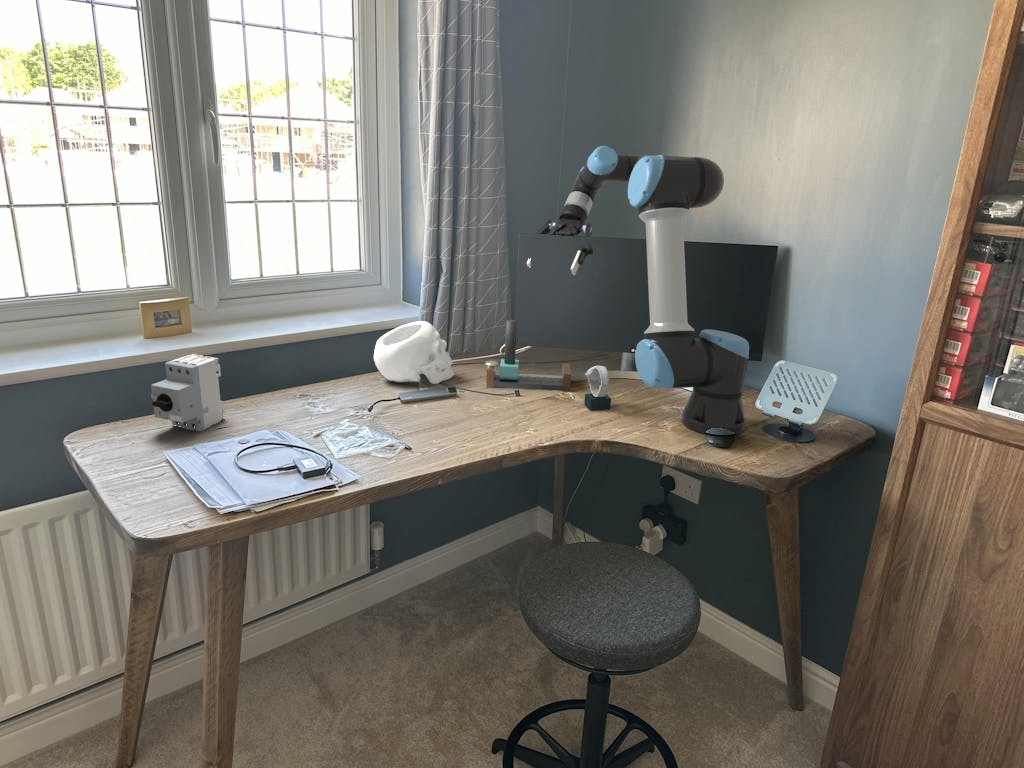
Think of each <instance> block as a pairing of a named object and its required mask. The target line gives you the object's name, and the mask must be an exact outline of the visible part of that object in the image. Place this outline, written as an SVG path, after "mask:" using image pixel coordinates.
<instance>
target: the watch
mask: <svg viewBox="0 0 1024 768" xmlns="http://www.w3.org/2000/svg"><path fill="white" fill-rule="evenodd" d="M608 371H609V370H608V369H607V367H606V366H602V365H595V366H592V367H590V368H589V369H588V370H587V371H586V372H585V376H586V377H587V380H588V381H587V382H588V384H589V388H590V391H591V393H584V401H583V403H584V404H583V405H584V406H585V407H586V409H587V410H588V411H589V412H592V411H598V412H599V411H610V410H611V405H612V397H611V396H609V395H608V392H609V388H610V385H609V384H610V375H609V372H608ZM599 383H600V385H599Z"/></svg>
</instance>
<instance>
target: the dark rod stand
mask: <svg viewBox="0 0 1024 768" xmlns="http://www.w3.org/2000/svg"><path fill="white" fill-rule="evenodd" d="M517 327H518V320H516V319H506V321H505V336H504V358H501V359H500V364H499V365H500V366H499V372H500V379H509V380H518V373H519V364H520V363H519V362H520V360H519V359H516V349H517V347H516V346H517V329H518V328H517Z"/></svg>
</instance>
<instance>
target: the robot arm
mask: <svg viewBox="0 0 1024 768" xmlns="http://www.w3.org/2000/svg"><path fill="white" fill-rule="evenodd" d="M606 182H618V183H619V182H620V183H628V186H627V198H628V201H629V204H630V206H632V207H634V208H635V209H638V218H639V219H640V220H641V221H643V223H644V224H645V235H646V236H645V237H646V238H645V239H646V240H645V241H646V242H645V244H646V262H647V265H646V266H647V282H648V283H647V284H648V286H647V287H648V307H649V323H650V324H649V325H648V327H647V328H646V329H645V331H644V332H643V338H644V339H642V340H640V341H639V342H638V343H637V344H636V347H635V349H636V350H635V352H634V360H635V367H636V370H637V373H638V376H639V378H640V379H641V380H642V383H644V384H645V385H646V386H647V387H648V388H650V389H653V390H654V389H655V390H658V389H659V390H661V389H663V390H672V389H685V388H692V391H691V394H690V396H689V398H688V400H687V402H686V404H685V405H684V408H683V409H682V413H681V423H682V424H683V425H684V427H686V428H688V429H690V430H692V431H695V432H697V433H702V434H705V433H706V431H707V430H709V429H711V428H723V429H727V430H730V431H732V432H734V433H735V434H736V435H739V434H741V433H743V432H744V431H745V427H746V415H745V410H744V406H743V397H742V396H743V390H744V385H745V379H746V374H747V373H746V372H747V367H748V360H749V359H750V357H749V354H750V343H749V342H748V340H747V339H745V338H744V337H742V336H739V335H737V334H734V333H731V332H727V331H721V330H716V329H703V330H701V331H700V332H699V337H695V336H696V334H695V328H693V327H692V326H691V325H690V324H689V322H688V307H687V305H688V304H687V303H688V302H687V284H686V283H687V280H686V279H687V278H686V261H685V260H686V259H685V257H686V256H685V255H686V254H685V237H684V233H685V232H684V230H685V229H684V219H685V218H687V216H688V215H689V214H690V209H697V208H703V207H706V206H708V205H710V204H711V203H713V202H714V201H716V199H717V198H718V197H719V196H720V194H721V193H722V191H723V189H724V183H725V177H724V173H723V170H722V168H721V167H720V165H718V164H717V163H716V162H715V161H713V160H711V159H709V158H705V157H699V156H693V157H692V156H679V155H678V156H677V155H664V154H658V155H650V154H644V155H643V154H642V155H641V154H640V155H639V154H624V153H623V154H621V153H619V154H618V153H617V152H616V151H615V149H614V148H611V147H609V146H608V145H600V146H597V147H596V148H594V150H593V151H592V153H591V154H590V156H588V158H587V161H586V162H585V165H584V166H582V167H581V168H580V170H579V172H578V174H577V175H576V179H575V181H574V184H573V186H572V189H571V191H570V193H569V194H568V197H567V199H566V200H565V203H564V205H563V207H562V210H561V212H560V214H559V218H558V219H557V221H556V222H552V220H551V219H548V220H547V221H546V222H545V224H544V225H543V226H542V227H541V228H540V229H539V230H538V231H537V232H535V234H547V235H561V236H574V237H580V235H579V234H580V233H582V232H584V234H585V238H586V237H592V233H593V228H592V225H591V223H587V224H586V225H585V223H586V222H587V219H588V215H589V214H590V211H591V210H592V207H593V204H594V202H595V200H596V198H597V195H598V193H599V191H600V190H601V188H602V187H603V186H604V184H606ZM574 237H573V238H574ZM592 243H593V242H592ZM592 243H588V244H587V245H586V246H587V248H586V246H585V244H583V245H581V246H580V248H579V250H577V252H576V255H575V257H574V259H573V261H572V264H571V267H570V271H571V274H572V275H573V276H576V274H577V272H578V269H579V268H580V265H583V264H584V262H585V260H586V258H587V256H589V255H590V254H593V249H594V247H593V248H592ZM580 249H581V250H580ZM590 256H591V255H590ZM526 265H527V268H528V267H529V268H531V258H530V259H529V258H528V259H527V261H526ZM529 268H528V269H529ZM736 435H735V436H736Z"/></svg>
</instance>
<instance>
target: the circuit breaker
mask: <svg viewBox="0 0 1024 768" xmlns="http://www.w3.org/2000/svg"><path fill="white" fill-rule="evenodd" d="M164 366H165V373H166V375H165V376H166V378H165V379H163V380H161V381H158V382H155V383H152V384H151V385H150V388H151V389H150V391H151V394H150V398H151V399H152V406H153V411H154V417H155V418H158V419H162V420H168V421H171V423H172V424H171V425H172V426H173V425H176V426H181V427H184V428H187V429H186V430H189V429H192V430H191V431H194V430H196V431H195V432H198V431H200V432H202V431H204V430H207V429H208V428H207V427H209V428H210V426H211V425H213V424H215V425H217V424H218V423H217V422H219V423H221V422H222V421H223V420H222V419H225V420H226V417H224V415H225V404H224V401H223V400H221V393H220V384H219V383H220V382H219V381H220V380H219V377H222V372H221V364H219V358H218V357H213V356H208V355H206V356H204V355H200V354H195V353H190V354H188V355H185V356H182V357H179V358H175V359H173V360H169V361H166V362H165V363H164ZM217 372H218V373H217ZM221 420H222V421H221ZM220 421H221V422H220ZM178 423H179V424H178ZM184 423H185V424H184ZM216 423H217V424H216ZM186 424H187V426H185V425H186ZM193 425H194V426H195V428H194V426H193ZM213 426H214V425H213ZM211 427H212V426H211ZM184 428H183V429H184ZM206 428H207V429H206ZM203 429H204V430H203ZM201 430H202V431H201Z"/></svg>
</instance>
